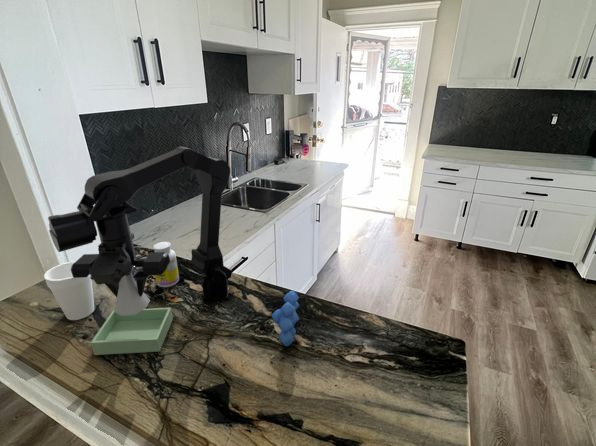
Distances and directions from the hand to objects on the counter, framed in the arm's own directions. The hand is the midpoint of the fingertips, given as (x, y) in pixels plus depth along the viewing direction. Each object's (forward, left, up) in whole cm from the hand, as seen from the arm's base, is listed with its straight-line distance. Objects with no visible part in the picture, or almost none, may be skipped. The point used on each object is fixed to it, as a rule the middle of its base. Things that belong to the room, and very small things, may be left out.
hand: (130, 296), depth 72 cm
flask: (0, 0, -3) cm, 3 cm away
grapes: (-36, +4, -11) cm, 38 cm away
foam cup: (+18, -9, -11) cm, 23 cm away
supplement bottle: (-1, -22, -11) cm, 25 cm away
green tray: (0, +1, -11) cm, 11 cm away
